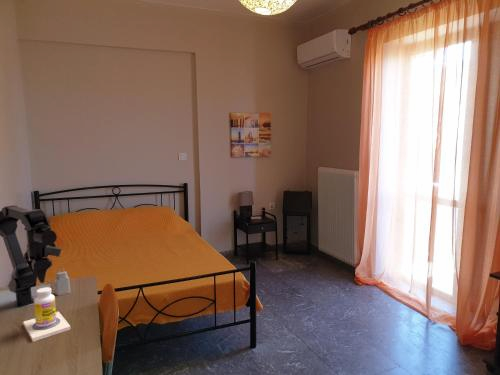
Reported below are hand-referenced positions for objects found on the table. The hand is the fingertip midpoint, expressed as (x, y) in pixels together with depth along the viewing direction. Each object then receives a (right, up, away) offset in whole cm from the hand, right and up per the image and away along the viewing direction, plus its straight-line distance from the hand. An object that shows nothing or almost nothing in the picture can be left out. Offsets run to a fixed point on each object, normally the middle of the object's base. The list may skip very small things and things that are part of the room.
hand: (39, 279), depth 145 cm
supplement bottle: (+9, -13, -12) cm, 20 cm away
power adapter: (0, -11, +19) cm, 22 cm away
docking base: (+9, -14, -12) cm, 21 cm away
